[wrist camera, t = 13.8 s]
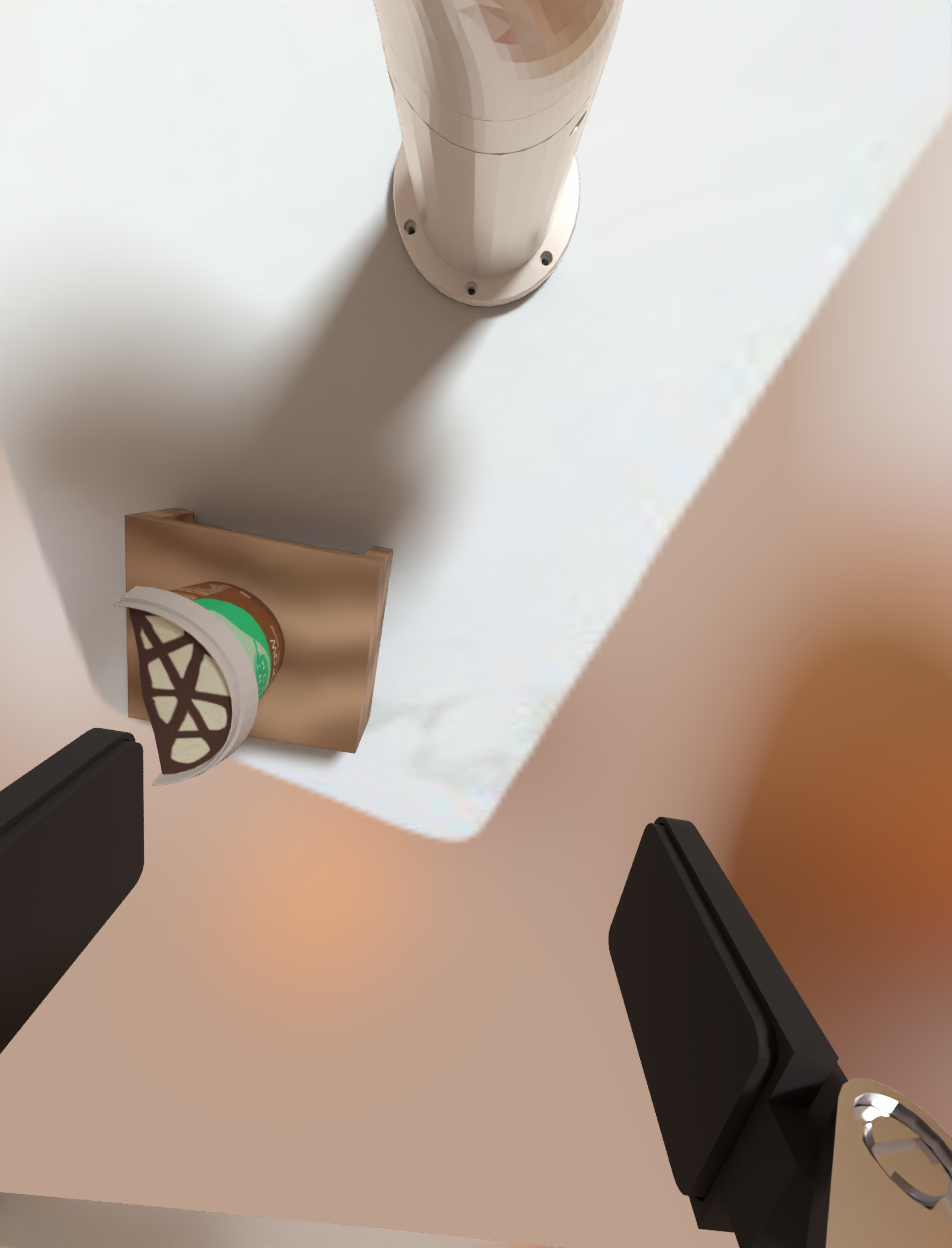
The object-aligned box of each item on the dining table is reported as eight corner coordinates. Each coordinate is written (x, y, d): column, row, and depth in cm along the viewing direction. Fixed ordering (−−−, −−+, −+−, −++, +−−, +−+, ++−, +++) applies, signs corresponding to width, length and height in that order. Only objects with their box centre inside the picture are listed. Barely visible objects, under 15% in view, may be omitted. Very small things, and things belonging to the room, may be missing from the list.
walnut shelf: (173, 508, 41) (124, 515, 35) (393, 549, 42) (380, 562, 36) (171, 685, 46) (128, 717, 40) (369, 718, 47) (355, 753, 41)
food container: (307, 715, 40) (255, 794, 30) (229, 714, 40) (153, 793, 30) (292, 561, 36) (228, 596, 27) (206, 560, 36) (111, 594, 27)
